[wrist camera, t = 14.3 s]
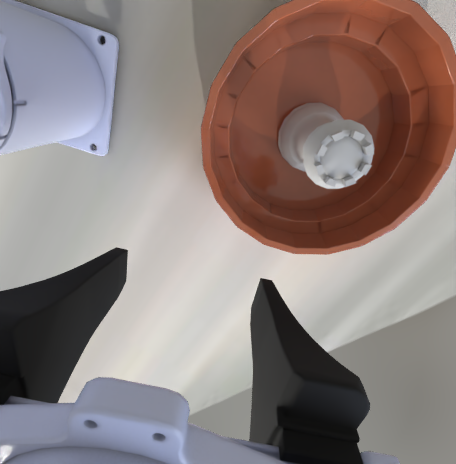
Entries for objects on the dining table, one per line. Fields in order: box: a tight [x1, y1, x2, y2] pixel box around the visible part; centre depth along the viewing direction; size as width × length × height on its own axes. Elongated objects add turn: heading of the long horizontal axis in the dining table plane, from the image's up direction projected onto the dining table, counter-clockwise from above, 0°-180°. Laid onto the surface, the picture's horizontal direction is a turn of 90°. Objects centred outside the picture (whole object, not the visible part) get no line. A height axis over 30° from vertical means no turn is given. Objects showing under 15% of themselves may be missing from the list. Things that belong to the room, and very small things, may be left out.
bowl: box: [201, 0, 456, 254], centre depth 18 cm, size 14×14×5 cm
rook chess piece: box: [278, 103, 374, 189], centre depth 16 cm, size 4×4×8 cm
